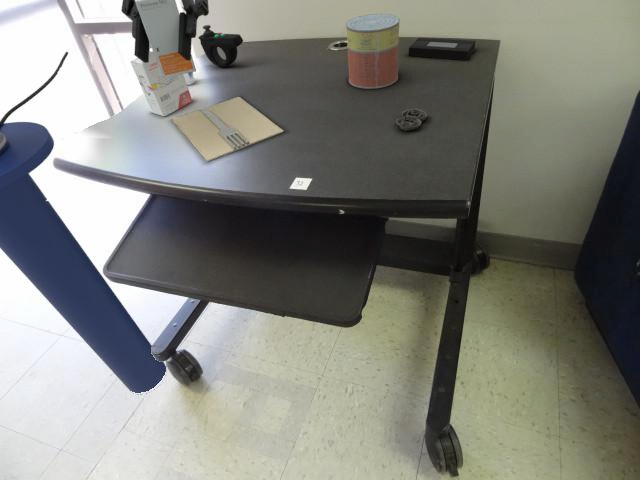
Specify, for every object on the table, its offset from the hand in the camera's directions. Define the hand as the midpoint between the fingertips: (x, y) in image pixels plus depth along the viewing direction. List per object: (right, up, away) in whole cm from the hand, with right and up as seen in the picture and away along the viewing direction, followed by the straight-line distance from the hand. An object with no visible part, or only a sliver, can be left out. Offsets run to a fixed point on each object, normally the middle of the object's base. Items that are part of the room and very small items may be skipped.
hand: (162, 57), depth 66 cm
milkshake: (-8, +10, +37) cm, 39 cm away
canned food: (+38, +7, +26) cm, 47 cm away
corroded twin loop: (+43, -8, +9) cm, 45 cm away
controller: (+1, +17, +43) cm, 46 cm away
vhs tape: (+56, +16, +34) cm, 68 cm away
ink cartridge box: (-8, 0, +26) cm, 28 cm away
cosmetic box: (+1, 0, +5) cm, 5 cm away
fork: (+6, -7, +16) cm, 18 cm away
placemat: (+6, -7, +16) cm, 19 cm away
